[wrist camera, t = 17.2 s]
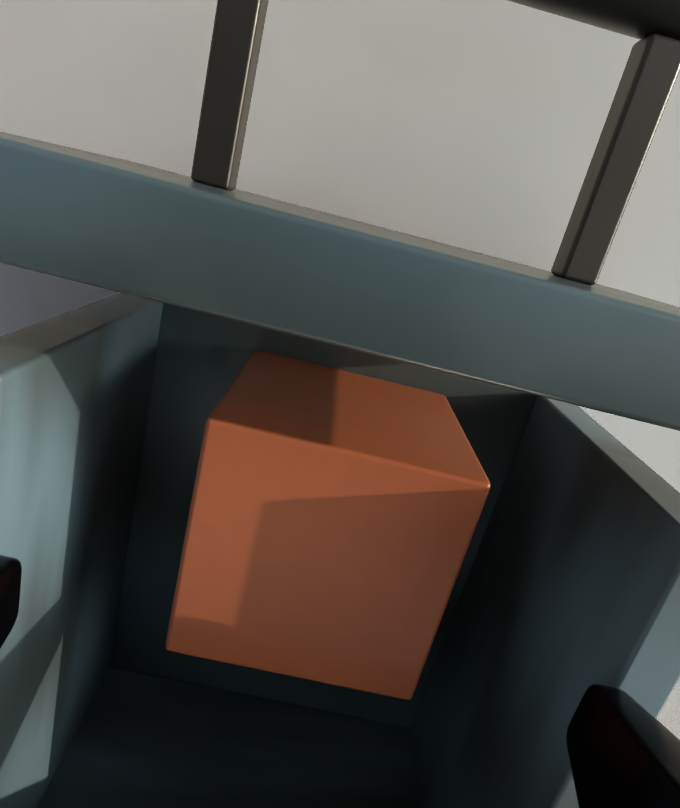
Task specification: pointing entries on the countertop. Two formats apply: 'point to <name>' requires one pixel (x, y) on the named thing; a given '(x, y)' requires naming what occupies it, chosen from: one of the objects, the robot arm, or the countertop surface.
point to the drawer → (349, 351)
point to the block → (325, 526)
